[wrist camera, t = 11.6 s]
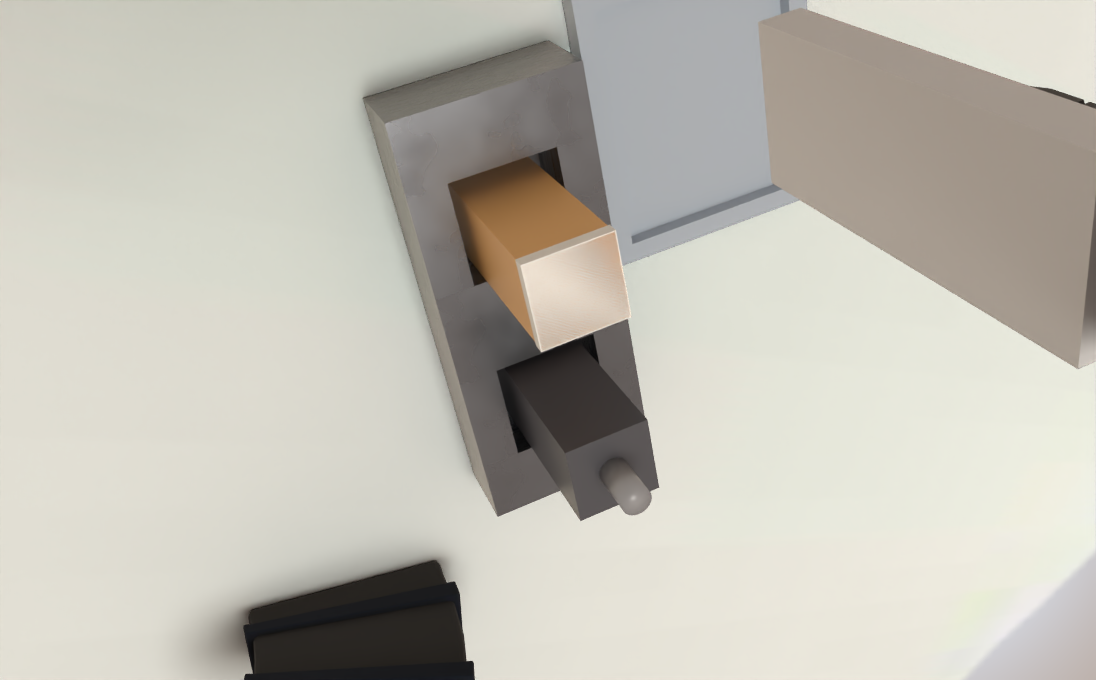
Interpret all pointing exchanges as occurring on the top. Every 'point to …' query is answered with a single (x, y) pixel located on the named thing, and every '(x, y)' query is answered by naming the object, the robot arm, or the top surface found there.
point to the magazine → (364, 631)
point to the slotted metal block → (438, 250)
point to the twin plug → (582, 430)
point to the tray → (677, 114)
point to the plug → (541, 252)
